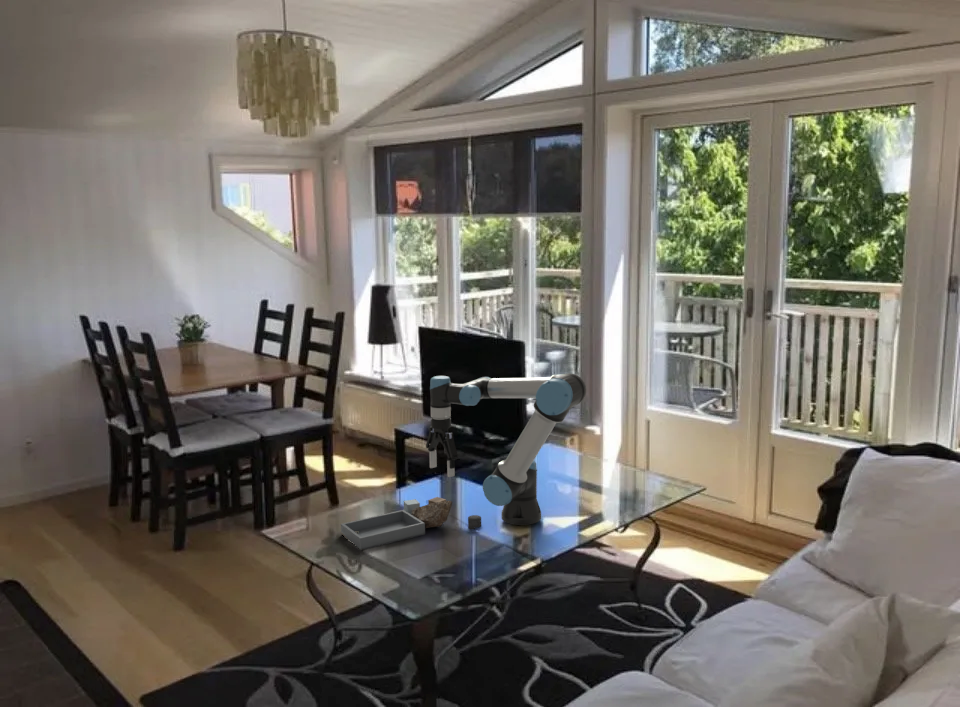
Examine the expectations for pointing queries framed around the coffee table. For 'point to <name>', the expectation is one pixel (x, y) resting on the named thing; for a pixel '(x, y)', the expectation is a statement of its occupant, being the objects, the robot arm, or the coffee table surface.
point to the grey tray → (383, 529)
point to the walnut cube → (436, 500)
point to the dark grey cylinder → (474, 522)
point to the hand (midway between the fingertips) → (442, 471)
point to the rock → (433, 513)
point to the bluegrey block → (411, 505)
